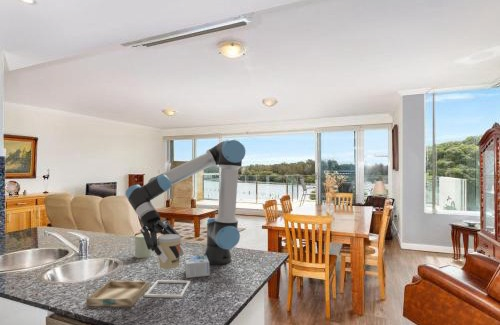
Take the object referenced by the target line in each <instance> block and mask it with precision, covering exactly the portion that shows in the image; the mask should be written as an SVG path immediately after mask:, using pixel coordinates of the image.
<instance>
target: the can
mask: <svg viewBox="0 0 500 325" xmlns="http://www.w3.org/2000/svg"><path fill="white" fill-rule="evenodd" d="M150 237H151V236H150ZM134 239H135V245H134V246H135V247H134V258H137V259H146V258H150V257H152V255H153V251H152V250H151V249H150V250H149V249H148V248H147V245H146V242H145V239H144V236H143V234H142V233H138V234H135V236H134Z"/></svg>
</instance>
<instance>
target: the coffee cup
mask: <svg viewBox="0 0 500 325" xmlns="http://www.w3.org/2000/svg"><path fill="white" fill-rule="evenodd" d="M178 234H179V233H178ZM178 234H166V235H163V234H161V235H160V236H157V243H158V246H159V245H160V246H161V248H162V249H163V251H164V253H165V254H166V256H167V258H168V259H167V261H166V262H165V263H163V262H162V260H161V259H160V257H159V256H158V262H159V268H160V269H163V270H172V269H176V268H178V267H179V265H180V258H181V256H180V243H181V240H182V237H180V236H181V235H180V234H179V235H178Z"/></svg>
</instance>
